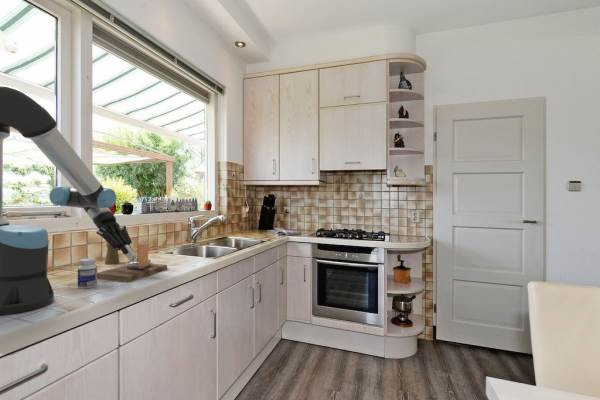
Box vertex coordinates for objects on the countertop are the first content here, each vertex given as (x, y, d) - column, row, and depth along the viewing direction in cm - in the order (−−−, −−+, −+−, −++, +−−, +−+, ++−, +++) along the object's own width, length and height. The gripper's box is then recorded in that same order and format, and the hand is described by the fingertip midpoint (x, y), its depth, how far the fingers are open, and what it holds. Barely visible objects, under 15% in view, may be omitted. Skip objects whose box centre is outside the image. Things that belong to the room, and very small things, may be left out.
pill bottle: (82, 284, 107) (82, 257, 107) (99, 284, 108) (100, 257, 108) (74, 289, 101) (74, 261, 101) (92, 288, 103) (93, 260, 103)
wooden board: (128, 282, 112) (128, 276, 112) (94, 278, 115) (95, 272, 115) (167, 269, 133) (167, 264, 133) (137, 266, 137) (138, 261, 137)
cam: (154, 270, 121) (155, 243, 121) (130, 273, 116) (130, 244, 116) (147, 261, 137) (147, 237, 137) (125, 263, 132) (125, 238, 132)
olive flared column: (122, 262, 144) (122, 240, 144) (113, 265, 138) (113, 242, 138) (111, 261, 145) (111, 239, 145) (101, 264, 139) (102, 241, 139)
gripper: (110, 221, 130) (140, 261, 126) (82, 223, 118) (114, 268, 114) (120, 210, 129) (150, 250, 125) (93, 211, 116) (126, 255, 112)
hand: (133, 258), depth 119 cm, fingers closed
